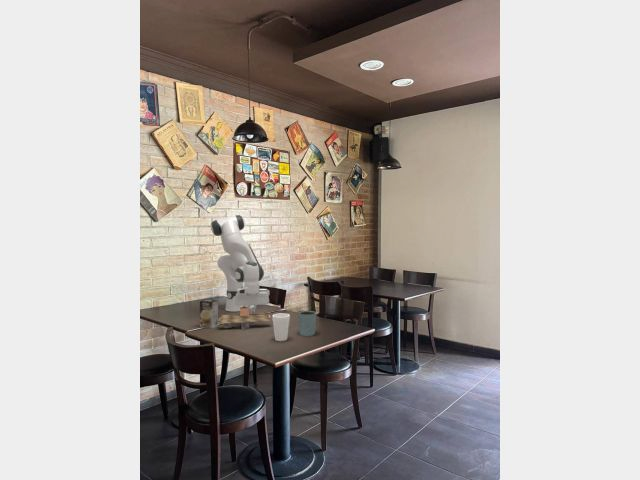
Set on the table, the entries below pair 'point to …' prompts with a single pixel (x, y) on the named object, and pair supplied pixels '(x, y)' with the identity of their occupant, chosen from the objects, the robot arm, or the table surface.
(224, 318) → the beam
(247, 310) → the rider
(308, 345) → the table surface
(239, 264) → the robot arm
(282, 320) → the foam cup
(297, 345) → the table surface
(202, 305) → the coffee box
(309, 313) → the teal cup
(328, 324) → the table surface
